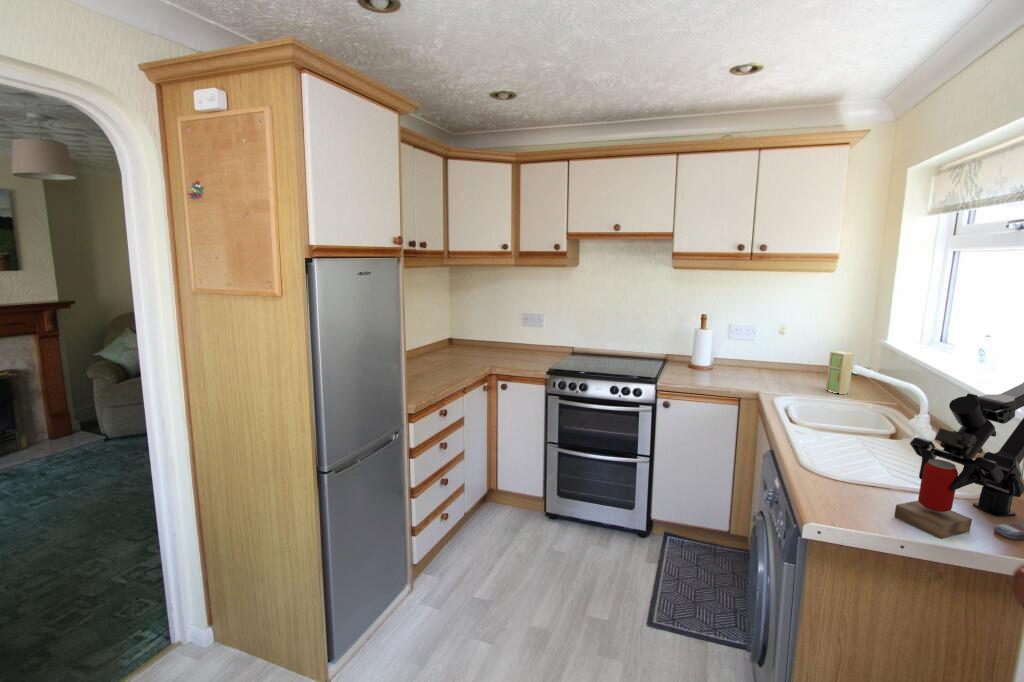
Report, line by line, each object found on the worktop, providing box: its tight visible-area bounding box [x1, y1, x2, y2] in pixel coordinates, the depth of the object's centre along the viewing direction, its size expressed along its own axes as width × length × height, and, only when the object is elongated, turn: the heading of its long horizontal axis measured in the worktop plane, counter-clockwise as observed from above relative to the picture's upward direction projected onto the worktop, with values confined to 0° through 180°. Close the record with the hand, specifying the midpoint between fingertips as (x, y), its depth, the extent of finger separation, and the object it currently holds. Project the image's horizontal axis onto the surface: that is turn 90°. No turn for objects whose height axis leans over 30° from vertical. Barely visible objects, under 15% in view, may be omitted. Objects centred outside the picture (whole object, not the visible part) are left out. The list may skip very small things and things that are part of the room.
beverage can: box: [917, 458, 959, 512], centre depth 131 cm, size 7×7×12 cm
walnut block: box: [893, 500, 973, 540], centre depth 132 cm, size 11×11×4 cm
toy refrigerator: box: [825, 350, 855, 393], centre depth 261 cm, size 8×7×21 cm
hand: (934, 483), depth 130 cm, fingers closed on beverage can, 7 cm apart
